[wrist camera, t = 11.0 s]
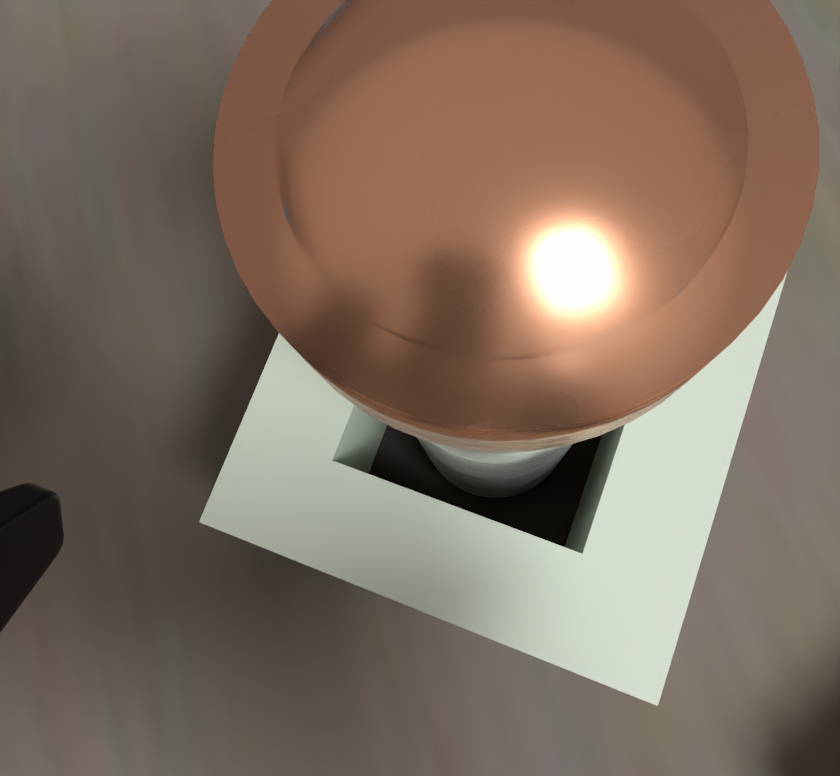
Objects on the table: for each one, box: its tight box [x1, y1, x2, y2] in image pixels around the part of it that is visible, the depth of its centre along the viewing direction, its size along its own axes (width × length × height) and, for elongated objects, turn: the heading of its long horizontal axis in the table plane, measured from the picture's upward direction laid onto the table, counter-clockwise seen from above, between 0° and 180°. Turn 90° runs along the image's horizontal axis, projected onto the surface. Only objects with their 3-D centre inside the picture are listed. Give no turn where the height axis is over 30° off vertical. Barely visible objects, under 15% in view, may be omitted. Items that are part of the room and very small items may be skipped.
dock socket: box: [199, 273, 787, 706], centre depth 16 cm, size 9×9×4 cm
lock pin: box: [213, 0, 819, 498], centre depth 12 cm, size 5×5×13 cm
